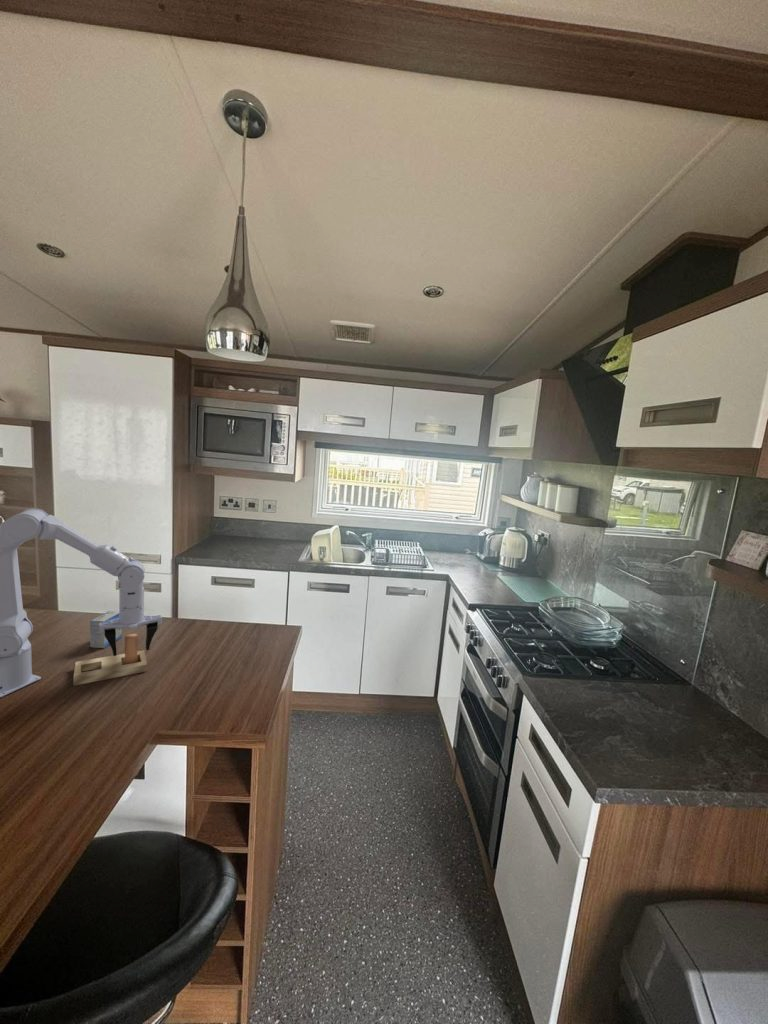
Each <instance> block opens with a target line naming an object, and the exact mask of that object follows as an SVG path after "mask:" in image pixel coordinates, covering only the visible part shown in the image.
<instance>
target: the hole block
mask: <svg viewBox="0 0 768 1024" xmlns="http://www.w3.org/2000/svg"><path fill="white" fill-rule="evenodd" d="M145 651H146V650H144V649H143V650H138V652H137V663H131V664H126V665H125V653H119V654H116V656H113V655H109V656H103V657H102V656H101V657H96V658H89V659H85V660H84V659H83V660H79V661H75V666H74V671H73V686H79V685H84V684H91V683H93V682H99V681H104V680H110V679H114V678H120V677H124V676H125V677H126V676H130V675H135V674H138V673H139V674H140V673H145V672H148V671H147V670H148V662H147V657H146V652H145Z"/></svg>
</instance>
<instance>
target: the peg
mask: <svg viewBox="0 0 768 1024" xmlns="http://www.w3.org/2000/svg"><path fill="white" fill-rule="evenodd" d="M138 641H139V635H138V634H137V633H130V634H126V635H125V636H124V654H125V664H124V665H126V664H131V663H137V662H138V661H137V652H138V651H139V650H138V649H139V648H138V647H139V646H138V645H139V642H138Z"/></svg>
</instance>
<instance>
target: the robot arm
mask: <svg viewBox="0 0 768 1024" xmlns="http://www.w3.org/2000/svg"><path fill="white" fill-rule="evenodd" d="M39 535H40V537H39V540H43V541H45V540H56V541H57V540H58V541H59V542H62V543H64V544H65V545H68V546H70V547H71V548H74V549H75V550H77V551H80V553H83V554H84V555H87V556H88V557H89V561H90V563H91V564H92V565H94V566H95V567H97V568H99V569H101V570H103V571H105V572H106V573H108V574H110V576H113V577H117V580H118V582H119V584H120V589H119V595H118V597H119V603H118V605H119V610H118V612H119V619H117V620H113V621H108V622H104V623H100V624H99V632H100V633H101V632H104V631H105V638H106V639H107V640H108V642H109V644H110V645H109V646H110V648H111V650H112V656H116V655H117V640H116V629H134V628H137V627H140V626H141V627H143V626H146V627H145V628H146V635H145V636H146V637H145V638H146V639H145V651H149V650H150V647H151V643H152V640H153V639H154V636H155V634H156V632H157V631H158V629H159V626H158V625H162V624H163V617H162V615H161V614H160V615H159V614H156V615H144V614H145V587H144V586H145V585H144V584H145V582H144V579H145V571H146V570H145V569H146V568H145V566H144V564H143V563H142V562H141V561H140V560H139V559H134V558H133V557H132V556H130V557H128V556H126V555H125V554H123V553H122V552H120V551H119V550H118V547H116V545H111V546H110V545H109V544H101V545H100V544H96V542H94V541H92V540H91V539H89V538H88V537H86V536H85V535H83V534H82V533H81V532H79V531H78V530H76V529H75V528H73V527H72V526H70V525H68V524H67V523H65V522H64V521H62V520H61V519H59V518H58V517H57V516H55V515H53V514H48V513H47V512H46V511H45V510H43V509H42V508H33V507H32V508H31V507H30V508H28V509H24V510H23V511H21V512H19V513H17V514H14V515H12V516H11V517H9V518H8V519H6V520H4V521H3V522H0V698H3V697H5V696H7V695H10V694H11V693H13V692H16V691H18V690H20V689H22V688H24V687H26V686H29V685H31V684H33V683H36V682H38V681H39V680H41V679H42V677H41V676H39V675H36V674H33V668H32V667H33V666H32V665H33V663H32V643H31V642H30V641H29V639H28V638H29V637H30V635H32V633H33V630H34V626H33V625H34V624H32V622H31V620H29V618H28V615H27V614H28V613H27V611H26V610H25V609H24V606H23V597H22V596H23V594H22V585H21V577H20V565H19V564H20V563H19V556H18V548H19V547H20V546H22V545H23V544H24V543H25V542H28V541H30V540H33V539H34V538H36V537H37V536H39Z"/></svg>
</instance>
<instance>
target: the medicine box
mask: <svg viewBox="0 0 768 1024" xmlns="http://www.w3.org/2000/svg"><path fill="white" fill-rule="evenodd" d="M117 619H119V611H116V610H115V611H112V610H108V611H107V612H105V613H102V614H101V615H99V616H96V617H95V618H93V619H91V620H90V621H89V636H90V637H89V638H90V639H89V640H90V641H89V643H90V645H89V646H90V648H95V649H96V648H97V649H106V648H107V647H109V646H110V644H109V642H108V640H107V639H106V638H105V631H104V632H101V633H100V632H99V624H100V623H104V622H108V621H113V620H117ZM122 629H123V628H122ZM122 629H116V641H118V640H119V639H120V638H122V637H123V636H122Z"/></svg>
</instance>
